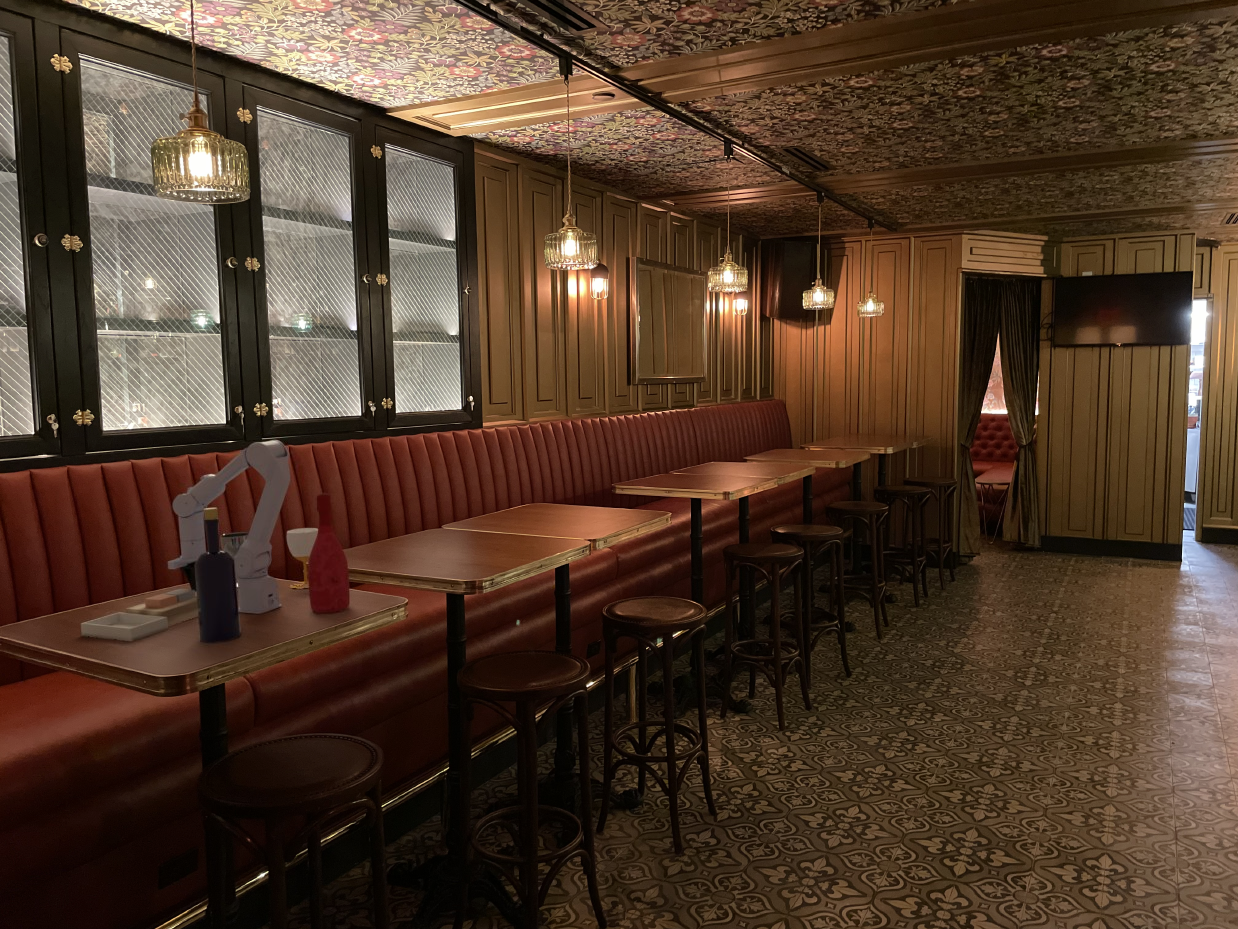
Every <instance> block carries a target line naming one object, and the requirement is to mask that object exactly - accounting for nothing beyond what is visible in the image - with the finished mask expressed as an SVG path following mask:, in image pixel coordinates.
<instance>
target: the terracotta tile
mask: <svg viewBox="0 0 1238 929" xmlns="http://www.w3.org/2000/svg"><path fill="white" fill-rule="evenodd" d="M144 603H145V607H153V608H163V607H166V606H169V605H172V604H176V603H177V595H169V594H164V593H160V594H156V595H153V596H151V597H145V598H144Z"/></svg>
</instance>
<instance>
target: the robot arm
mask: <svg viewBox="0 0 1238 929" xmlns="http://www.w3.org/2000/svg"><path fill="white" fill-rule="evenodd" d="M290 454H291V453H290V451H289V450H288V449H287V447H286V445H285V444H284V443H283V442H282V441H280V440H277V439H271V440H268V441H262V442H261V441H260V442H257V441H256V442H253V443H251V444H250V445H249V446H248V447H245V448H244V449H241V451H240V452H239V453H238V454H237V455H236V456H235V457H234V458H233V459H232V460H230V462H228V463H227V464H226V465H225V466H224V467H223V468H221V470H220V471H218V472H217V473H216V474H213V473H210V474H205V475H202V476H201V477H200V478H199V479H200V481H199V482H197V483H196V484H195V485H194V486H193V487H192V486H191V487H188V488H187V490H186V491H187V492H186V493H182V494H181V493H180V494H177V496H175V498H174V500H173V502H172V510H173V512H174V513H175V515H177V516H178V527H179V528H178V529H179V538H180V539H179V540H180V542H179V543H180V550H181V551H180V552H181V555H180V556H179V557H177V558H174V559H172V560H169V561H167V569H168V570H177V569H178V568H180V570H181V571H182V573H183V574H184V576H185V578H186V579H187V581H188V584H189V587H190V590H195V593H197V591H196V579H195V563H196V561H197V559H198V558H199V556H200V555H201V554H202V553H205V552H207V549H206V547H207V545H206V538H205V537H206V535H205V533H206V532H205V524H204V519H205V515H204V509H206V508H208V506H209V504H210V503H212V502H213V501H214V500H216V499H217V498H218V497H219V496H221V495H222V494H223V493H224V492H225V490H226V484H228V483H229V482H230V481H232V480H233V479H235V478H236V477H237V476H239V475H241V474H242V473H243V472H244V471H245V470H247V469H248V468H250V467H253V468H252V469H254V470H256V471H257V472H258V473H259V474H260V475H261V476H262V477H263V479H264V481H265V484H264V488H263V490H262V494H261V497H260V500H259V502H258V505H257V508H256V512H255V514H254V518H253V519H252V523H251V526H250V529H249V534H248V537H247V539H246V540H245V542H244V543H243V544H242V545H241V546H240V548H239V551H238V553H237V554H236V555H235V556H234V558H235V569H236V581H238V588H237V594H238V606H239V613H246V614H254V615H255V614H258V615H260V614H264V613H268V612H270V611H272V610H275V609H277V608H281V607H282V606H283V604H281V603H280V594H279V592H280V591H279V583H278V581H277V579H276V578H275V577H273V576H270V575H269V573H268V568H269V566H270V565H271V562H272V549H273V546H272V543H271V542H270V541H271V537H272V535H273V532H274V529H275V528H276V527H275V525H276V524H277V520H278V518H279V515H280V512H281V508H282V506H283V504H284V499H285V497H286V495H287V491H288V488H289V485H290V483H291V472H290V465H289V464H290V463H289V459H290V458H289V457H290Z"/></svg>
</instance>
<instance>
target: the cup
mask: <svg viewBox="0 0 1238 929" xmlns="http://www.w3.org/2000/svg"><path fill="white" fill-rule="evenodd" d="M317 534H318V528H315V527H303V528H302V527H301V528H293V529H290V530H287V531H286V542H287V547H288V549H289V552H290V553H291V555H292V557H294V559H296V560H298V561H300V562H302V565H303V577H304V578H303V580H304V581H299V582H298V583H303V584H308V564H307V562H308V561H309V557H310V553H311V550H312V547H313V545H314V542H315V540H316V537H317ZM293 584H294V585H297V586H299V585H300V586H301V585H303V584H295V583H293ZM289 588H290V589H292V588H298V589H297V590H300V589H299V588H304V587H296V586H293V585H292V584H291V585H289ZM306 588H307V587H306ZM308 588H309V585H308Z"/></svg>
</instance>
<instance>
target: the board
mask: <svg viewBox="0 0 1238 929" xmlns="http://www.w3.org/2000/svg"><path fill="white" fill-rule="evenodd" d="M125 613H131V614H141V615H151V616H162V617H167V621H168V627H171V626H174V625H177V624H180V623H183V622H182V621H184V622H185V621H186V620H187V621H189V619H190V620H192V618H193V619H195V617H196V618H199V617H198V604H197V595H195V598H192V599H189V600H186V601H182V602H177V603H176V604H172V605H169V606H166V607H163V608H153V607H145V602H143V603H140V604H137V605H134V606H129V607H127V608H126V607H125ZM176 623H177V624H176ZM173 624H174V625H173ZM170 625H171V626H170Z"/></svg>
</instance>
